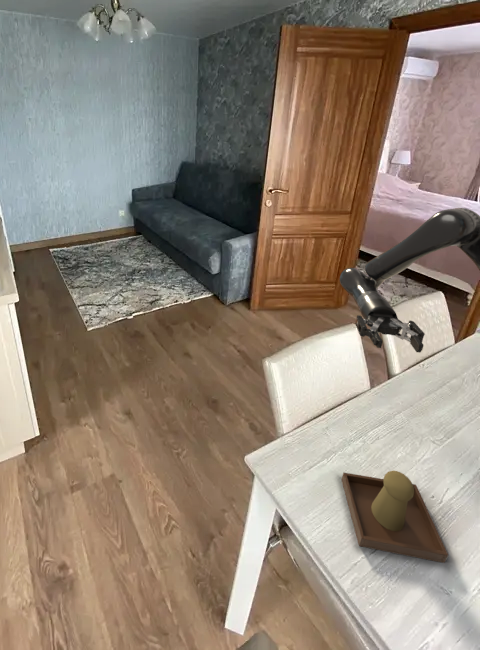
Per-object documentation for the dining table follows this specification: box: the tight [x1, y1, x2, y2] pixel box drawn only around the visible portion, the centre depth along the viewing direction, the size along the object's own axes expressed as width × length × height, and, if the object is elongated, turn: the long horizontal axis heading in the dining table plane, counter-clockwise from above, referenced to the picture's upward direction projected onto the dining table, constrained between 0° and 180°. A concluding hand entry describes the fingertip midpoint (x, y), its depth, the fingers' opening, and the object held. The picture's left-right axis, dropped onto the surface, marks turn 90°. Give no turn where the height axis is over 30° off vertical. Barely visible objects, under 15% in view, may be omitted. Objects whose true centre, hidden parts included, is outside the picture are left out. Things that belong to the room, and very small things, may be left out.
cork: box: [371, 470, 414, 531], centre depth 70 cm, size 6×6×11 cm
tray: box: [341, 472, 449, 564], centre depth 72 cm, size 15×13×2 cm
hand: (400, 347), depth 80 cm, fingers open, 8 cm apart
